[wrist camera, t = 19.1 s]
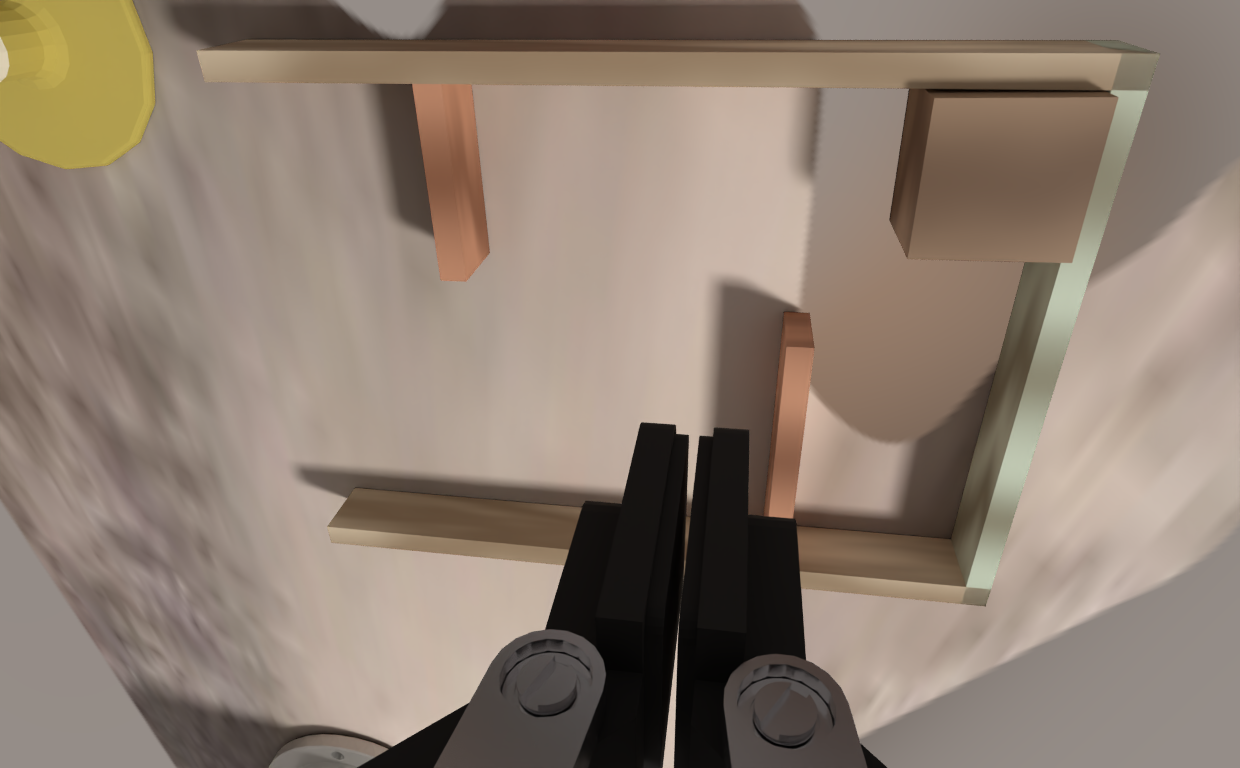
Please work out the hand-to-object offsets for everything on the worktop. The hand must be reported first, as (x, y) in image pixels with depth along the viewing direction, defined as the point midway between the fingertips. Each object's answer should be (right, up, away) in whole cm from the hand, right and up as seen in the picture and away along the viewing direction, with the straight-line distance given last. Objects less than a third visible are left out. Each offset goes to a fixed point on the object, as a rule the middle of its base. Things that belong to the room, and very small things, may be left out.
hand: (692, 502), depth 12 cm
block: (+11, +10, +15) cm, 21 cm away
